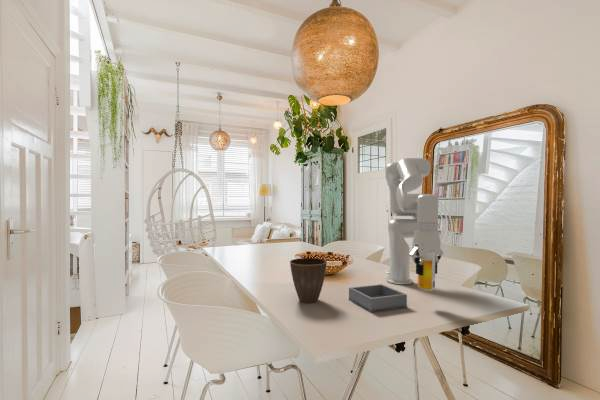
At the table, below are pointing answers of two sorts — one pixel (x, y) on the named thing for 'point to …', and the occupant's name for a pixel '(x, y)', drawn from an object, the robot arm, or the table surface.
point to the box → (377, 298)
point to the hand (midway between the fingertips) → (426, 273)
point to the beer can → (427, 273)
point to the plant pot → (308, 278)
